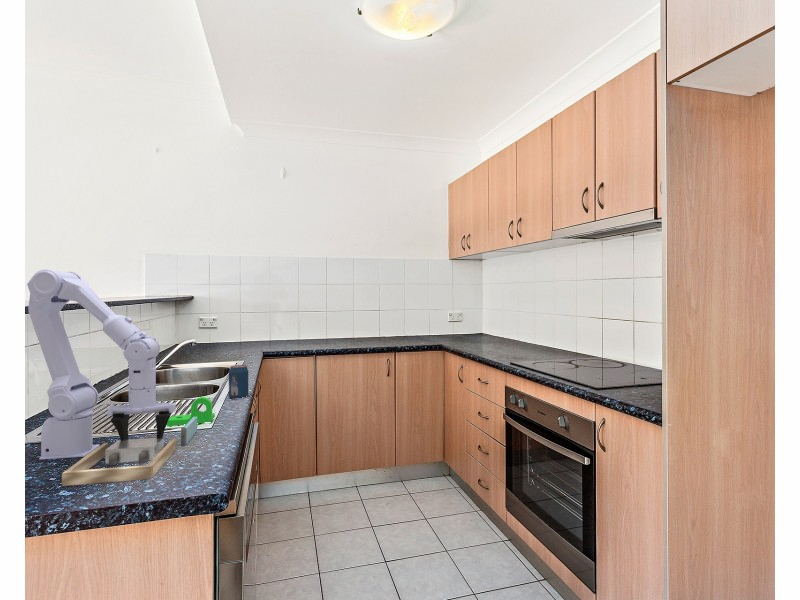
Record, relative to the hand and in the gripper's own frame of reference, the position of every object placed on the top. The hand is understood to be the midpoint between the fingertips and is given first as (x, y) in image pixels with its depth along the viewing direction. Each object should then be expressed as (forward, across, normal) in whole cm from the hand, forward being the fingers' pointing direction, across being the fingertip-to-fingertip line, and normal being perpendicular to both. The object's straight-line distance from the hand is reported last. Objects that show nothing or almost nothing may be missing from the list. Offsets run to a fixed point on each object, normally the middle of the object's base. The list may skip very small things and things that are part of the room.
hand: (142, 443), depth 109 cm
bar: (+2, +9, +1) cm, 9 cm away
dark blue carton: (+2, +15, +56) cm, 58 cm away
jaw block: (+2, 0, -5) cm, 5 cm away
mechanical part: (+2, +6, +24) cm, 24 cm away
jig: (+2, 0, -10) cm, 10 cm away
